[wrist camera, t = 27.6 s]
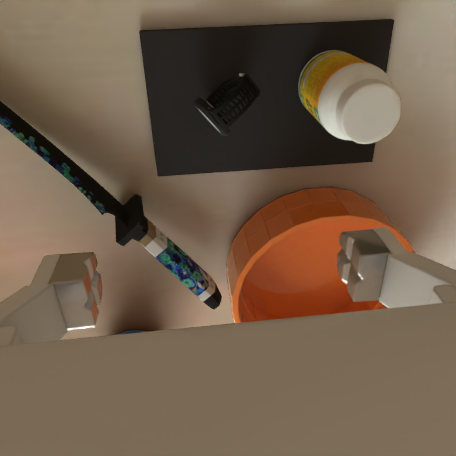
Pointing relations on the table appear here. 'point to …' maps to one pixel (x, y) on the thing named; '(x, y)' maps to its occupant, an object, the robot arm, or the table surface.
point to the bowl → (299, 255)
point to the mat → (262, 106)
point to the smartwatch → (212, 112)
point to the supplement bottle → (349, 97)
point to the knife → (118, 212)
